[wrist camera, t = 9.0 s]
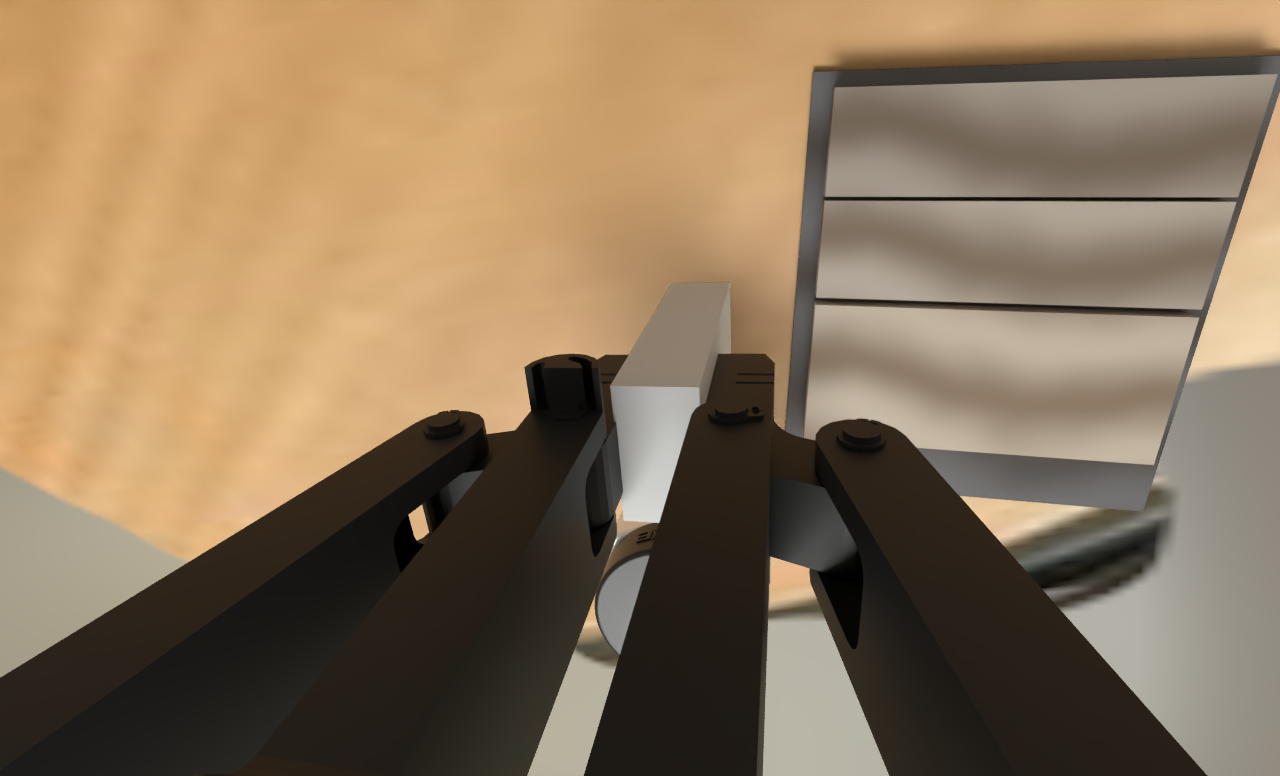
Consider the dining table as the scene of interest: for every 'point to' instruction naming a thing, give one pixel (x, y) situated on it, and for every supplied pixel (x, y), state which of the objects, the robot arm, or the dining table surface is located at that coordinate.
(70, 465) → the dining table surface
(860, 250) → the grey flat panel
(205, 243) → the dining table surface
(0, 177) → the dining table surface
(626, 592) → the jar
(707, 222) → the dining table surface
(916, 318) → the plank
